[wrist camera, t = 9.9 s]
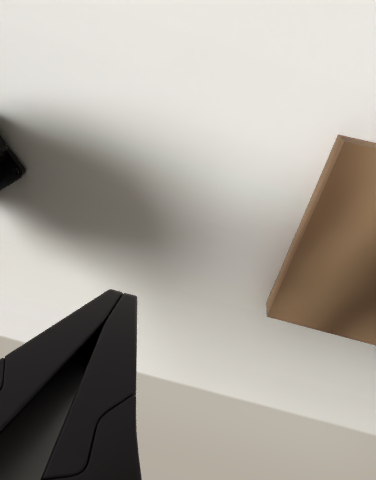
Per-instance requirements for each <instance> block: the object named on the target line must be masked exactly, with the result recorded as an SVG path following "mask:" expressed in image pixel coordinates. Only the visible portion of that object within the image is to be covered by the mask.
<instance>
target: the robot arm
mask: <svg viewBox="0 0 376 480" xmlns="http://www.w3.org/2000/svg"><path fill="white" fill-rule="evenodd" d="M16 169H18V171H19V173H18V172H17V171H16ZM25 173H26V170H25V168H24V166H23V165H22V163H21V162H20V161H19V160H18V158H17V157H16V156H15V154H14V153H13V152H12V150H11V149H10V148H9V147H8V145H7V144H6V143H5V141H4V140H3V139H2V137H1V136H0V191H1V190H2V189H4V188H5V187H7V186H8V185H10V184H12V183H13V182H15V181H16V180H18V179H19V178H21V177H23V176H24V175H25ZM136 357H137V297H136V296H134V295H131V294H127V293H124V294H123V293H122V292H120V291H116V290H112V289H110V290H108V291H106V292H104V293H103V294H101V295H100V296H98V297H97V298H95V299H94V300H92V301H90V302H89V303H87V304H86V305H84V306H83V307H81V308H80V309H78V310H76V311H75V312H73V313H72V314H70V315H69V316H67V317H66V318H64V319H62V320H61V321H59V322H58V323H56V324H55V325H53V326H51V327H50V328H48V329H47V330H45V331H44V332H42V333H41V334H39V335H37V336H36V337H34V338H33V339H31V340H30V341H28V342H27V343H25V344H24V345H22V346H20V347H19V348H17V349H16V350H14V351H13V352H11V353H9V354H8V355H6V356H5V359H4V358H2V359H0V480H142V479H141V471H140V463H139V454H138V444H137V433H136Z"/></svg>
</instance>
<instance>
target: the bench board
mask: <svg viewBox="0 0 376 480" xmlns="http://www.w3.org/2000/svg"><path fill="white" fill-rule="evenodd" d="M266 305H267V317H271V318H274V319H278V320H282V321H286V322H290V323H293V324H297V325H301V326H305V327H308V328H312V329H316V330H320V331H324V332H327V333H331V334H335V335H339V336H343V337H346V338H350V339H354V340H358V341H361V342H365V343H369V344H373V345H376V143H372V142H368V141H363V140H359V139H354V138H350V137H346V136H341V135H338V136H337V139H336V141H335V143H334V146H333V148H332V150H331V153H330V155H329V157H328V160H327V162H326V164H325V167H324V169H323V171H322V174H321V176H320V178H319V181H318V183H317V185H316V188H315V190H314V193H313V195H312V197H311V200H310V202H309V204H308V207H307V209H306V211H305V214H304V216H303V218H302V221H301V223H300V225H299V228H298V230H297V232H296V235H295V237H294V239H293V242H292V244H291V246H290V249H289V251H288V253H287V256H286V258H285V260H284V263H283V265H282V267H281V270H280V272H279V275H278V277H277V279H276V282H275V284H274V286H273V289H272V291H271V293H270V296H269V298H268V300H267V303H266Z"/></svg>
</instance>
